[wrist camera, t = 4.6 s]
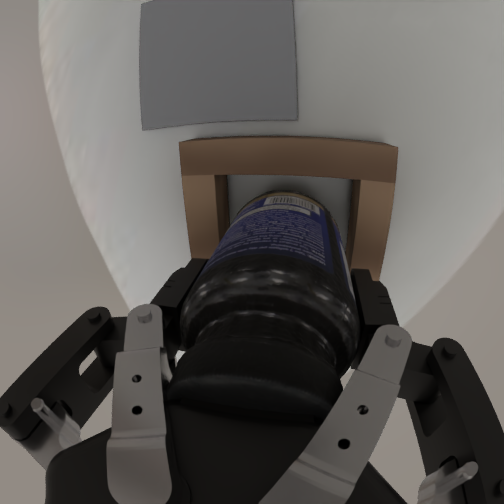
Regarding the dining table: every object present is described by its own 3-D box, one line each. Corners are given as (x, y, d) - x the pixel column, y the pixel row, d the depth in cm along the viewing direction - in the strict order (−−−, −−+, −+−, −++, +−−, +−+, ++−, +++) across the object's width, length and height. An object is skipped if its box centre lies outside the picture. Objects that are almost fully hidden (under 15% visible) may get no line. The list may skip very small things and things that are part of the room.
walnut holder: (195, 138, 16) (178, 142, 14) (385, 143, 14) (398, 147, 12) (210, 294, 22) (200, 313, 20) (362, 305, 20) (366, 326, 18)
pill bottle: (213, 241, 16) (113, 396, 7) (280, 163, 14) (211, 292, 4) (290, 301, 17) (263, 471, 8) (362, 239, 15) (414, 423, 5)
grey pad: (146, 7, 12) (141, 4, 11) (290, -17, 10) (290, -23, 10) (148, 129, 17) (142, 130, 16) (297, 120, 15) (297, 120, 14)
